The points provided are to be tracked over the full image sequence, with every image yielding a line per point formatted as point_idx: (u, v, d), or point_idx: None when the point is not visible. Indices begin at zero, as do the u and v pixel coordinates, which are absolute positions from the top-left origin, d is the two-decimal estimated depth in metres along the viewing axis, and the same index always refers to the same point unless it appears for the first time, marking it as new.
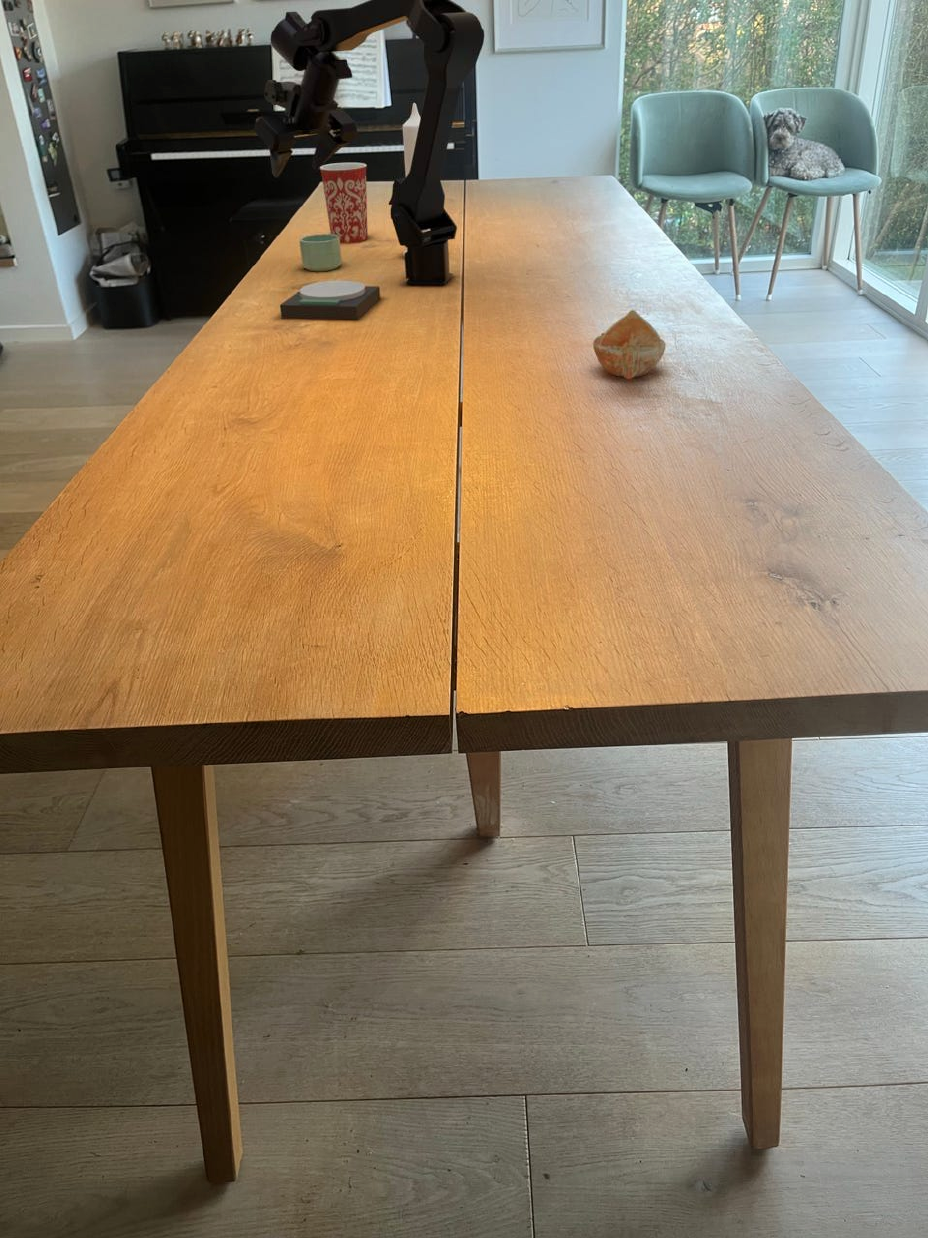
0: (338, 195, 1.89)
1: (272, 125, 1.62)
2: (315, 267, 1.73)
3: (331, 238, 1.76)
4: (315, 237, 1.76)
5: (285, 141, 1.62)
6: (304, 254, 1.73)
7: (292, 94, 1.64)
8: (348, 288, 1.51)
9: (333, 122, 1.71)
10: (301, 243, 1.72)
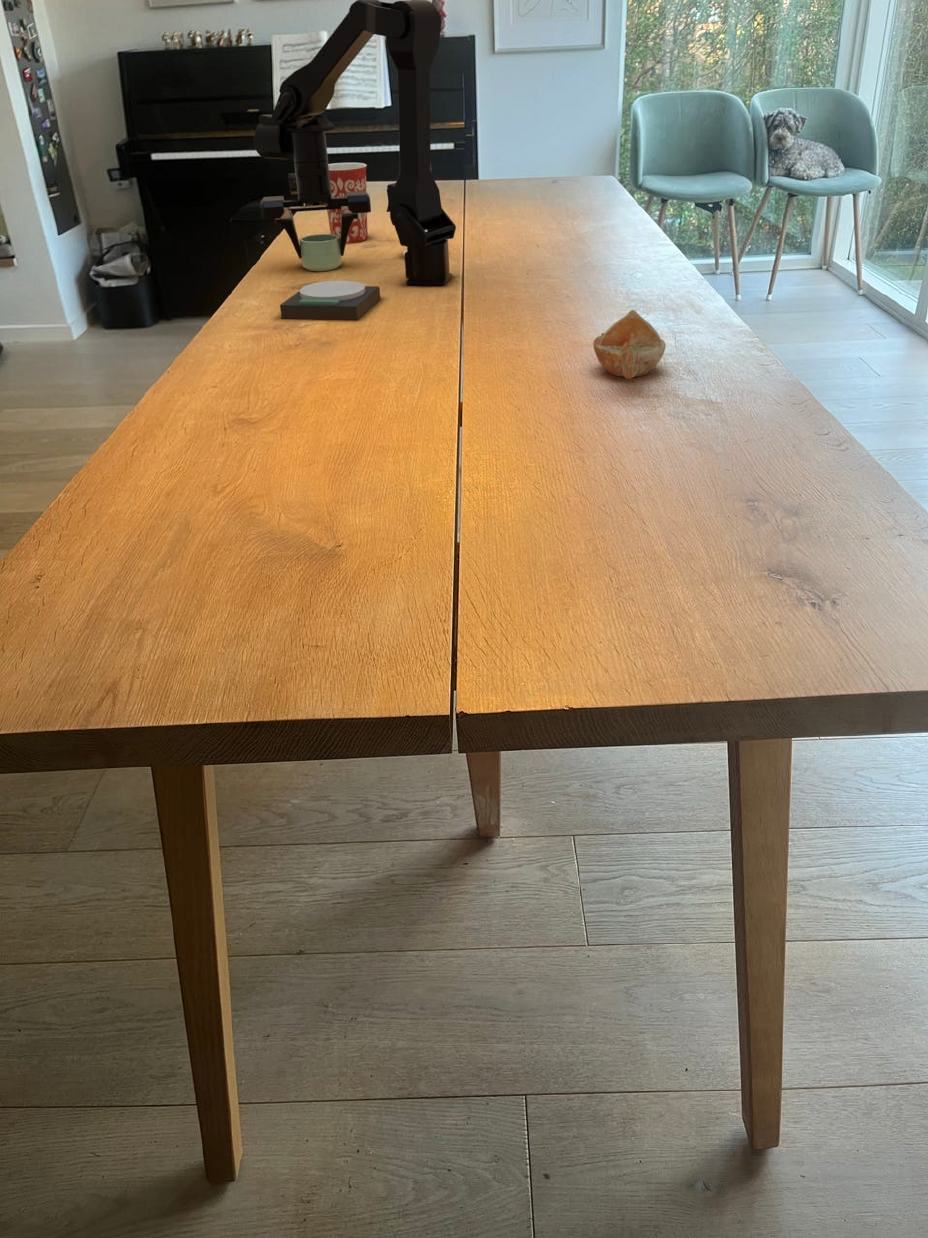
0: (338, 195, 1.89)
1: (266, 199, 1.69)
2: (315, 267, 1.73)
3: (331, 238, 1.76)
4: (315, 237, 1.76)
5: (271, 207, 1.67)
6: (304, 254, 1.73)
7: None
8: (348, 288, 1.51)
9: (345, 199, 1.70)
10: (301, 243, 1.72)
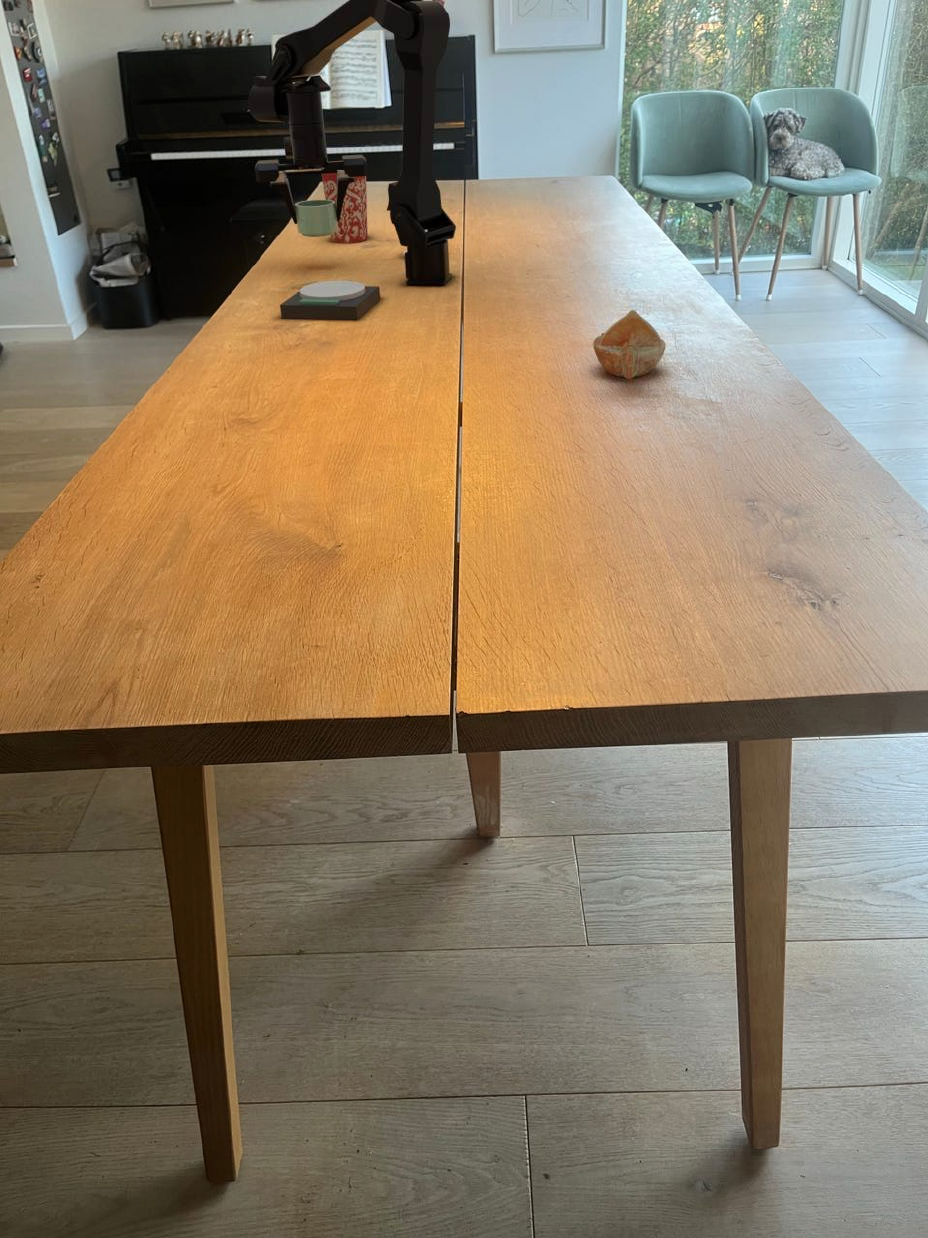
0: None
1: (261, 162, 1.66)
2: (311, 232, 1.70)
3: (327, 204, 1.73)
4: (311, 203, 1.73)
5: (265, 170, 1.64)
6: (299, 219, 1.70)
7: None
8: (348, 288, 1.51)
9: (342, 162, 1.67)
10: (297, 208, 1.69)
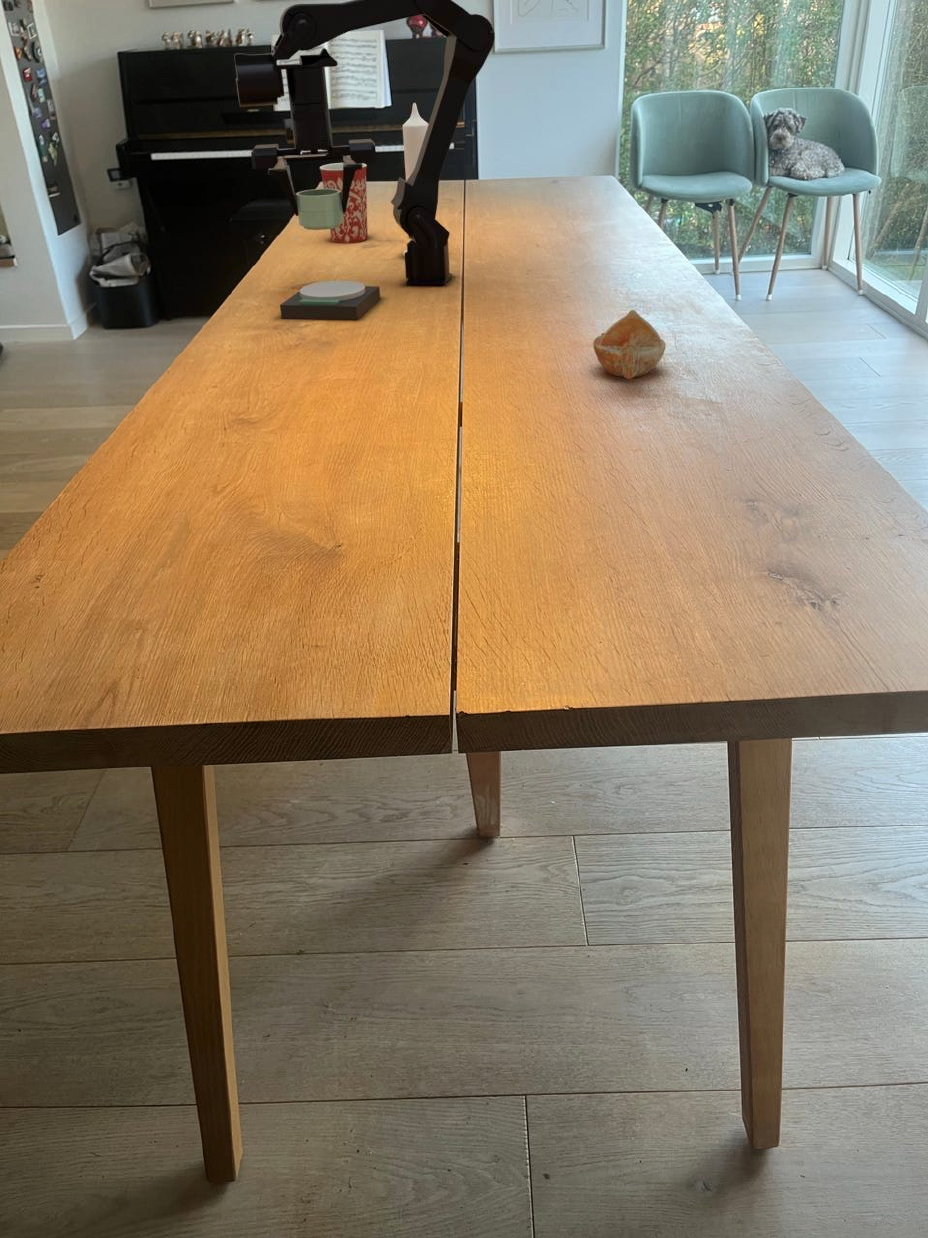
0: None
1: (258, 146, 1.49)
2: (313, 225, 1.53)
3: (332, 193, 1.56)
4: (314, 193, 1.57)
5: (263, 155, 1.47)
6: (300, 210, 1.53)
7: None
8: (348, 288, 1.51)
9: (348, 147, 1.50)
10: (298, 197, 1.52)
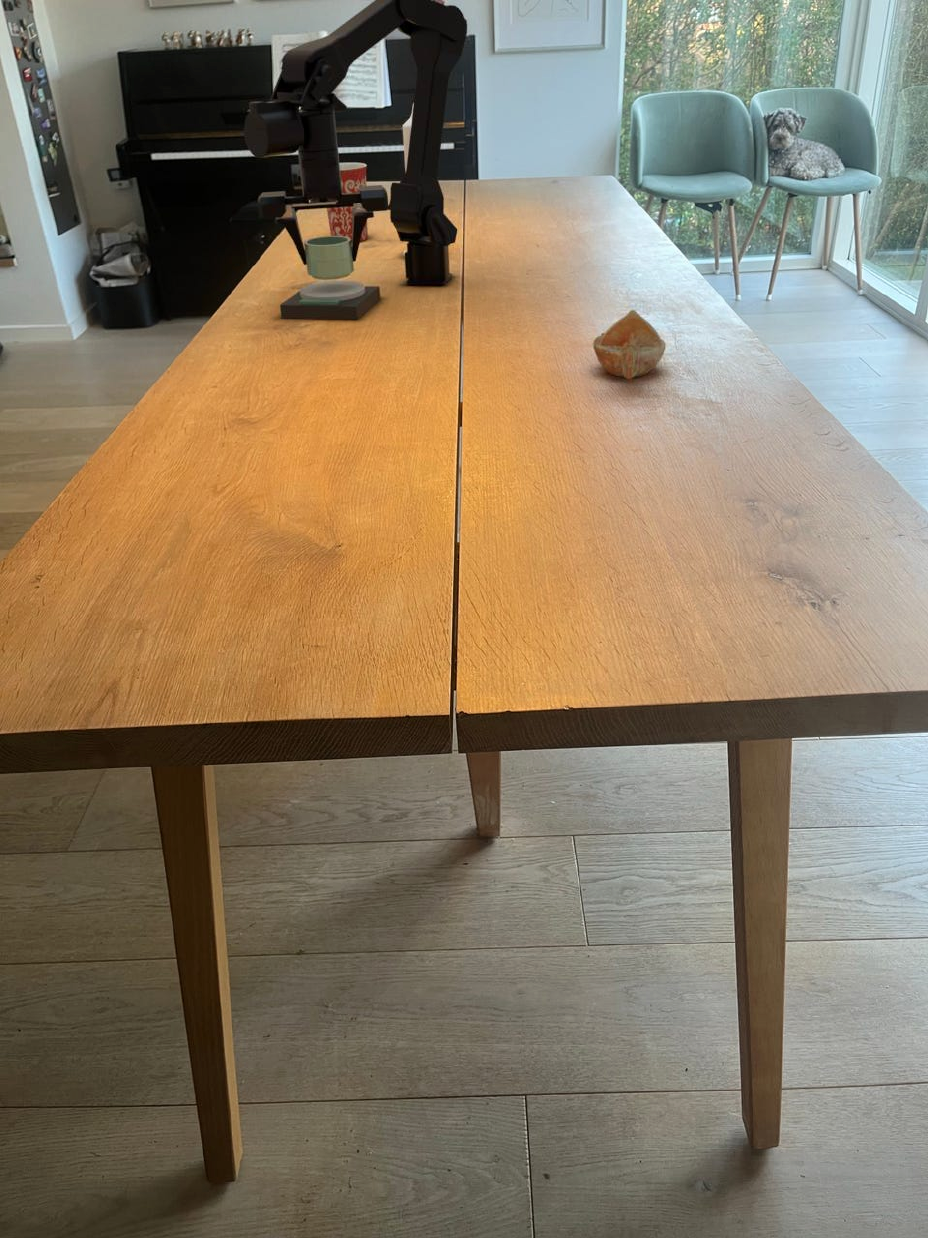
0: None
1: (265, 194, 1.43)
2: (322, 275, 1.47)
3: (341, 241, 1.50)
4: (323, 240, 1.50)
5: (270, 205, 1.41)
6: (309, 260, 1.47)
7: None
8: (348, 288, 1.51)
9: (358, 194, 1.44)
10: (306, 246, 1.46)
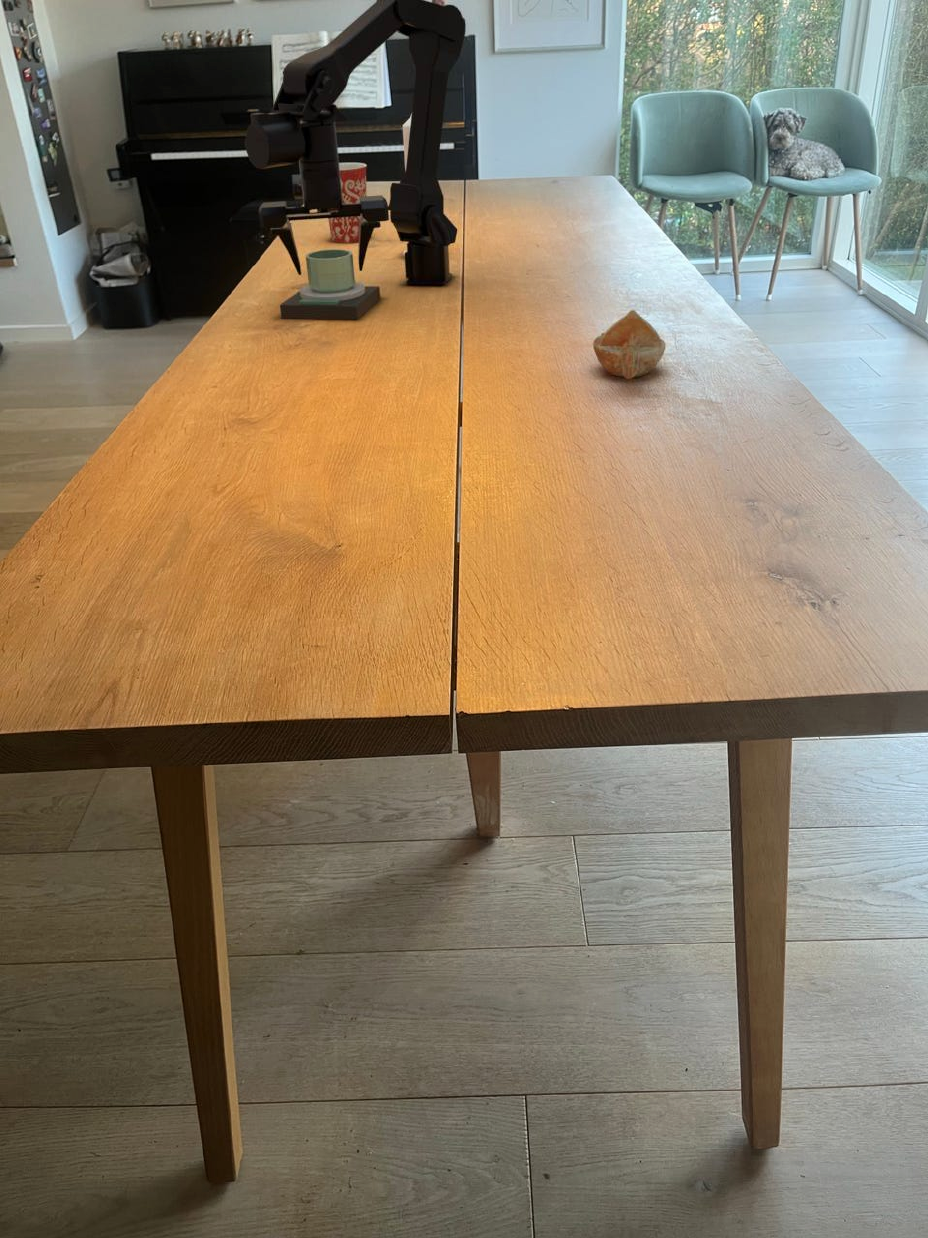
0: None
1: (266, 205, 1.44)
2: (324, 288, 1.48)
3: (342, 254, 1.51)
4: (324, 253, 1.51)
5: (271, 215, 1.42)
6: (311, 273, 1.48)
7: None
8: None
9: (359, 205, 1.45)
10: (308, 260, 1.47)
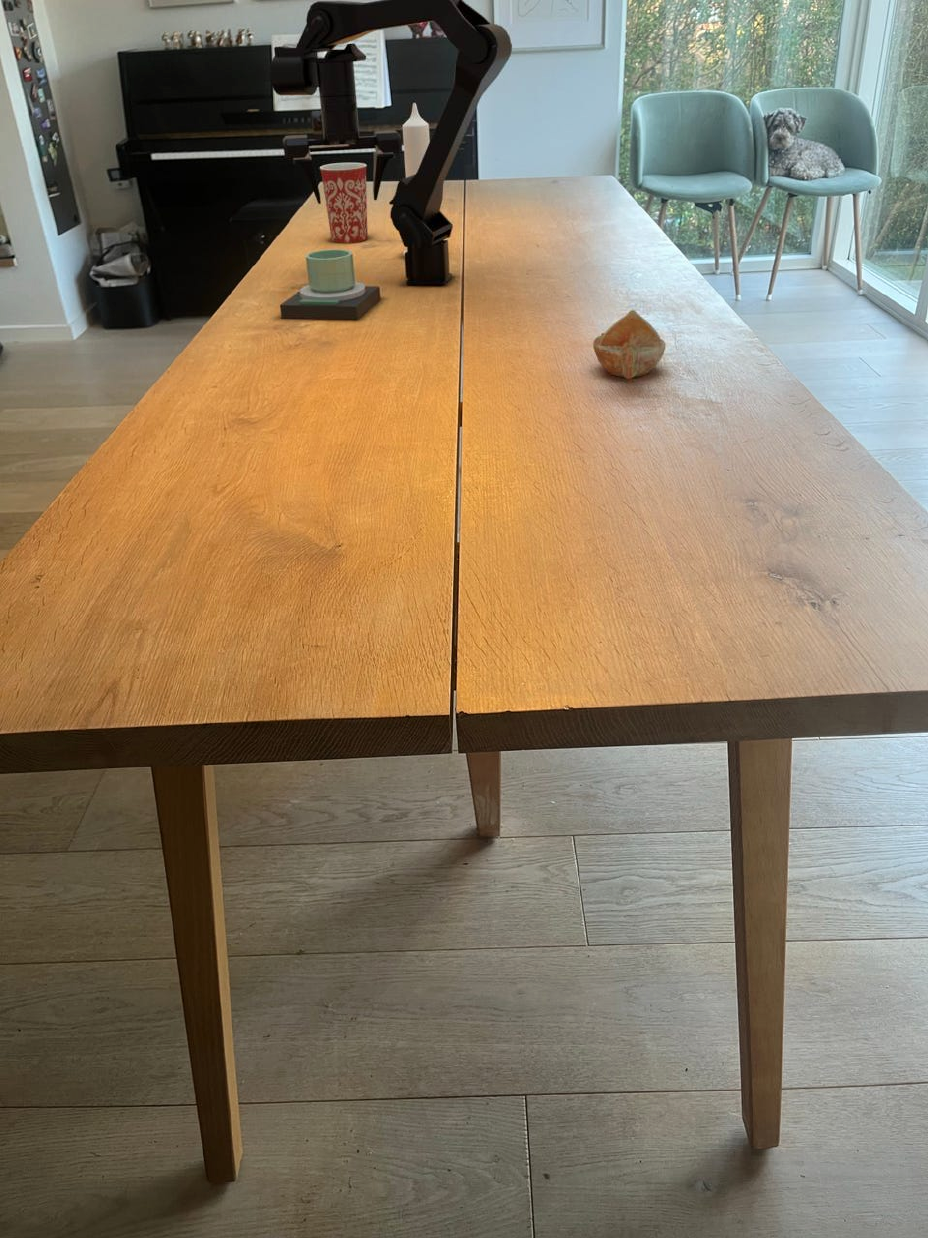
0: (338, 195, 1.89)
1: (289, 137, 1.56)
2: (324, 288, 1.48)
3: (342, 254, 1.51)
4: (324, 253, 1.51)
5: (295, 145, 1.54)
6: (311, 273, 1.48)
7: None
8: None
9: (374, 137, 1.58)
10: (308, 260, 1.47)
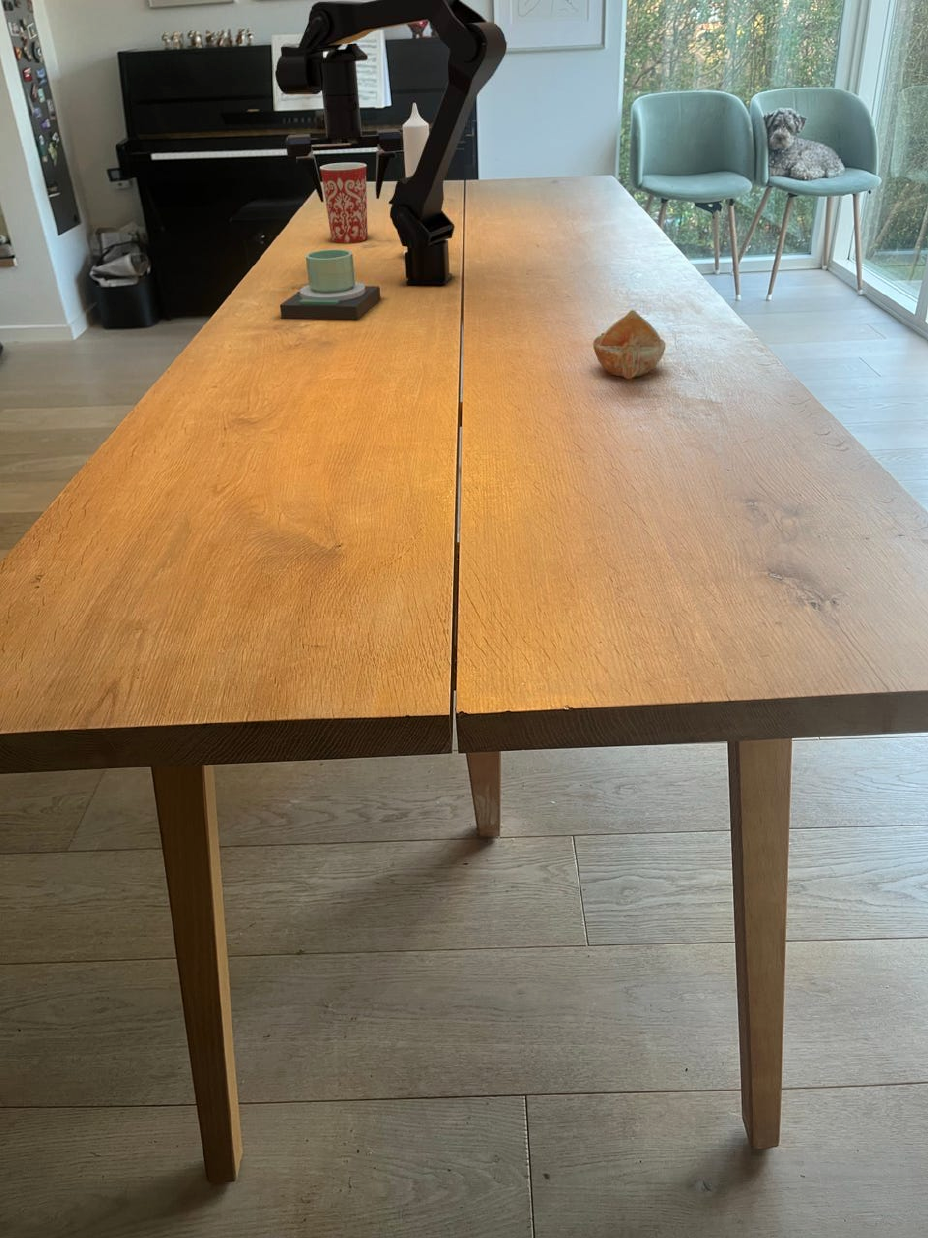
0: (338, 195, 1.89)
1: (292, 136, 1.58)
2: (324, 288, 1.48)
3: (342, 254, 1.51)
4: (324, 253, 1.51)
5: (297, 144, 1.56)
6: (311, 273, 1.48)
7: None
8: None
9: (377, 136, 1.59)
10: (308, 260, 1.47)
